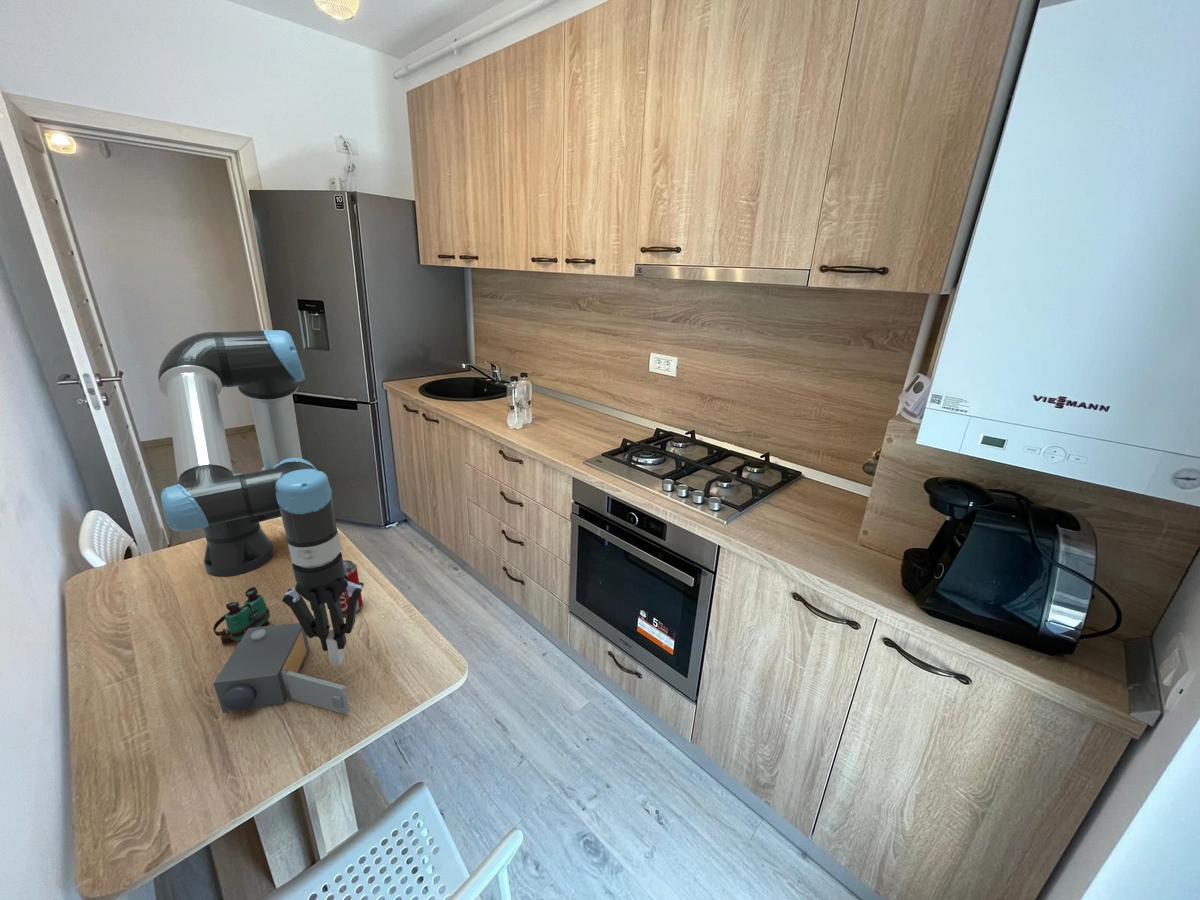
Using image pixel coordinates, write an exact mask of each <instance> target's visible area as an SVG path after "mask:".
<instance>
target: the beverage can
mask: <svg viewBox="0 0 1200 900" xmlns="http://www.w3.org/2000/svg"><path fill="white" fill-rule="evenodd" d="M343 564H344V570H345V574H346V576H347V577H348V578H349V582H352V583H355V584H357V583H359V582H360V579H359V572H358V567H357V564H355V563H354V562H353V561H352V560H348V559H345V560H343ZM349 599H350V597H349V596H348V590H347V589H345V591H344V592H343V593H342V595H341V596H340V603H341V609H342V614H343V617H346V616H347V609H348V602H349ZM362 606H363V597H362V593H361V594H360V596H359V597H358V603H357V609H356V613H357V611H358V610H359V611H360V610H361V609H362ZM359 611H358V612H359Z"/></svg>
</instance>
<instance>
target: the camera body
mask: <svg viewBox="0 0 1200 900" xmlns="http://www.w3.org/2000/svg"><path fill="white" fill-rule="evenodd" d="M271 625H272V624H271ZM308 640H309V639H308V636H307V635H306V633H305V631H304V630H303V628H302V626H301V625H300V623H299V622H293V623H292V622H291V623H284V624H276V625H275V624H274V625H272V626H263V627H254V628H248V630H247V631H246V633H245V634H244V636H243V638H242V639H241V641H240V642H239V644H238V643H237V646H236V647H235V648H234V650H233V651H232V653H231V654H230V656H229V658H228V659H227V661H226V662H225V664H224V666H223V667H222V669H221V671H220V672H219V674H218V675H217V677H216V678H215V680H214V681H213V686H214V689H215V693H216V696H217V699H218V703H219V706H220V708H221V711H222V714H223V713H224V714H225V713H229V712H239V711H245V710H250V709H252V710H253V709H258V708H264V707H265V708H266V707H272V706H279V705H280V706H281V705H285V704H286V702H287V700H288V697H287V693H286V689H285V685H284V682H283V678H282V674H281V671H282V670H283V669H287V670H288V671H292V672H295V673H299V674H300V671H301V669H302V666H303V664H304V662H305V660H306V657H307V656H308V653H309V651H310V645H309V641H308Z"/></svg>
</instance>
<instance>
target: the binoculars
mask: <svg viewBox="0 0 1200 900" xmlns="http://www.w3.org/2000/svg"><path fill="white" fill-rule="evenodd" d="M244 595H245V597H247V599H246V600H245V601H244V603H243V604H244V605H241V606H240V603H239V602H238V601H233V602H229V603H227V604H225V608H226V609H227V611H228V612H227V613H225V614H224V615H222V616H220V618H219V619H218V620H217V621H216V622H215V623H214V624H213V628H212V630H213V632H214V634H215V636H218V637H220V641H221V644H223V645H226V644H227V645H228V644H231V643H234V642H237V645H238V644H239V642H240V641H241V639H242V638H243V636H244V634H245V633H246V631H247V630H248V628H254V627H263V626H272V622H271V621H268V620H269V619H270V617H271V612H270V608H269V607H268V606H267V603H266V602H265V599H264V597H263V595H262V594H258V589H257V587H256V586H252V587H250V588H248V589H247V590H246V591H245V592H244ZM223 622H225V623H226V627H227V628H223V629H222V630H221V631H217V628H218V627H219V626H220V625H221V624H222V623H223Z"/></svg>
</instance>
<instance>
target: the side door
mask: <svg viewBox="0 0 1200 900" xmlns="http://www.w3.org/2000/svg"><path fill="white" fill-rule="evenodd" d="M281 674H282V678H283V682H284V685H285V689H286V693H287V700H288V701H292V700H295V701H298V702H301V703H304V704H309V705H313V706H315V707H320V708H323V709H327V710H329V711H333V712H337V713H340V714H343V715H348V714H349V713H350V706H349V698H348V695H347V689H346V685H345V684H339V683H336V682H332V681H328V680H324V679H320V678H317V677H313V676H310V675H305V674H303V673H300V672H299V673H295V672H292V671H288V670H287V669H283V670H282V671H281Z"/></svg>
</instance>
